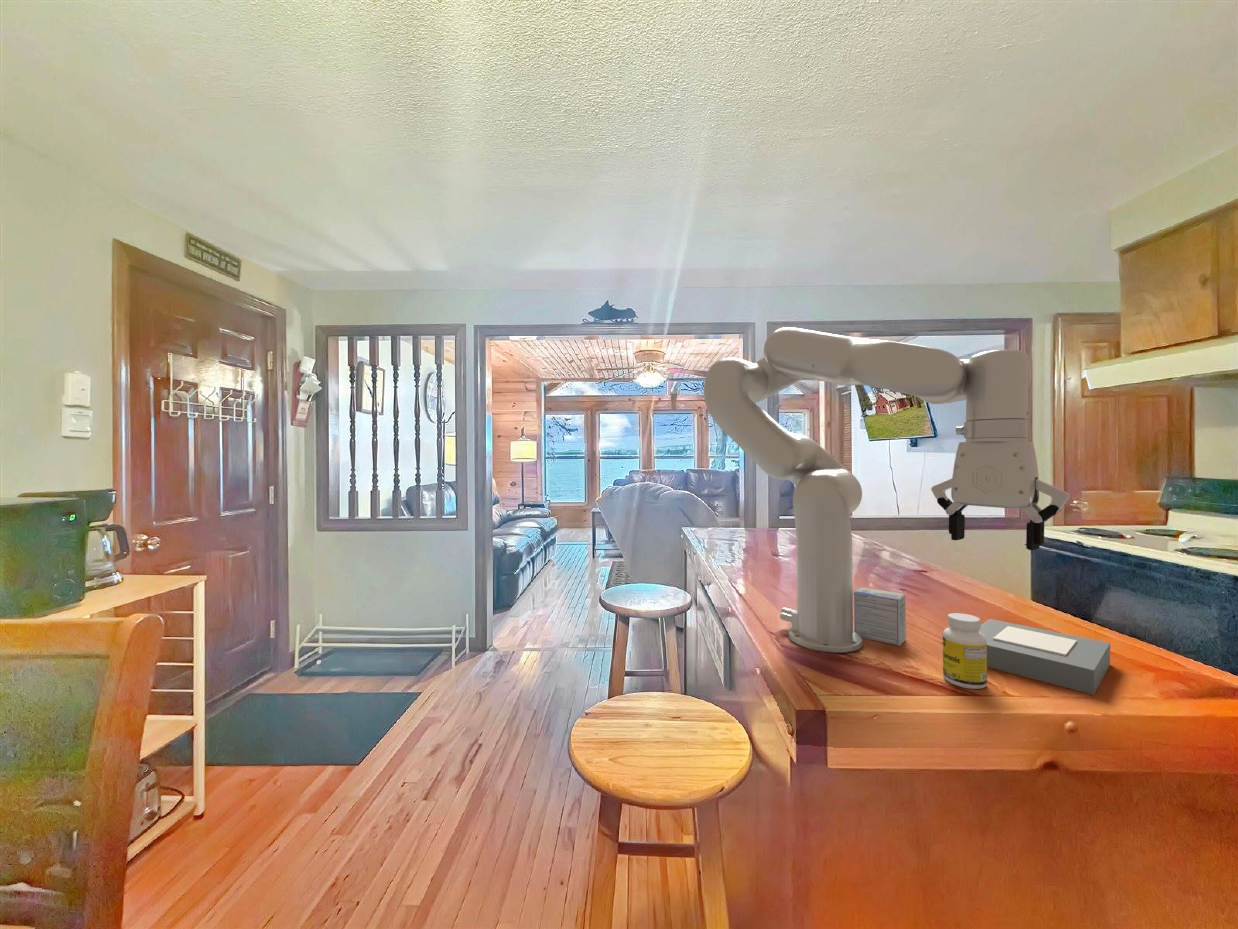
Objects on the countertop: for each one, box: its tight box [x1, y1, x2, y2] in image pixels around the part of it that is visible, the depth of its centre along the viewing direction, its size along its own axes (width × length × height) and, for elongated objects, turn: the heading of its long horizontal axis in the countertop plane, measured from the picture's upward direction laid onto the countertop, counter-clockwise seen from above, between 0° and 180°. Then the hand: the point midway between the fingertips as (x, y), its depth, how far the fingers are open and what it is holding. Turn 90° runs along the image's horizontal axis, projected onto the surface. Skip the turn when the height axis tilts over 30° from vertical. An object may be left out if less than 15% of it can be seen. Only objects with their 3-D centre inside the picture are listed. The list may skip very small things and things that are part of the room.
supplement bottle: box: [942, 612, 988, 690], centre depth 73 cm, size 5×5×10 cm
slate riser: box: [979, 618, 1111, 696], centre depth 80 cm, size 16×16×4 cm
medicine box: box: [853, 587, 907, 647], centre depth 91 cm, size 8×4×9 cm, turn 47°
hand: (993, 544), depth 75 cm, fingers open, 9 cm apart
